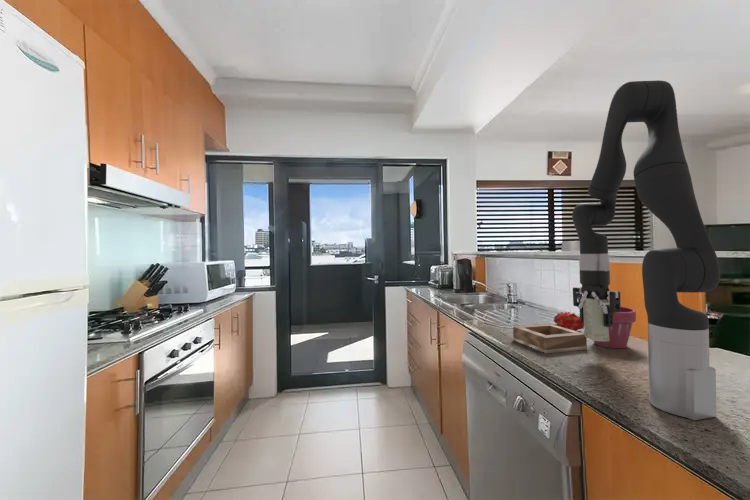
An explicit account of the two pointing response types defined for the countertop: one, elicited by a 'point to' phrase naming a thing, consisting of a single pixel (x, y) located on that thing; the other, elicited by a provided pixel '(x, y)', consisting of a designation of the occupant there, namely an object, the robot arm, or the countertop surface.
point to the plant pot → (620, 329)
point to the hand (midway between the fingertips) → (595, 323)
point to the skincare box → (594, 321)
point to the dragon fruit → (569, 321)
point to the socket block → (549, 338)
